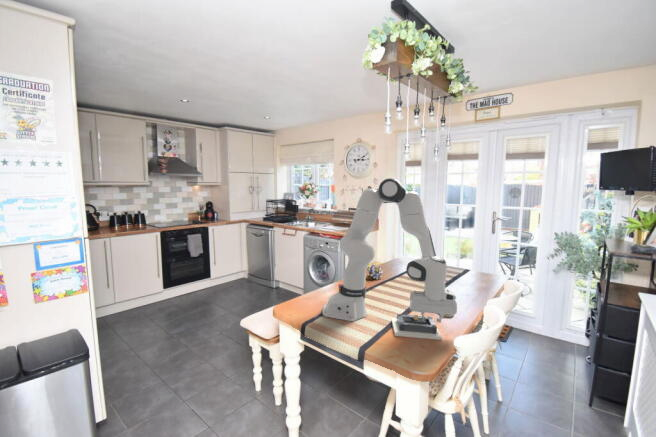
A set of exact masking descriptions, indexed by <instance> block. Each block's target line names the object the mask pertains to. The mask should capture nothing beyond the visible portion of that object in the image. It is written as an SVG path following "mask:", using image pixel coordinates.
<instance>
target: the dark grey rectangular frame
mask: <svg viewBox="0 0 656 437" xmlns="http://www.w3.org/2000/svg"><path fill="white" fill-rule="evenodd" d="M413 316H414V314H413V315H412V314H411V315H410V314H403V313H402V314H400V313H398V314H397V316H396V318H397V322H398V326H399V330H400V331H410V332H421V333H432V334H437V328H438V327H437V326H438V325H436V323H435V320H434V319H433V317H432V316H426V318H427V319H426V321H423V320H422V315H418V316H419V319H418V324H415V323H414V318H413Z"/></svg>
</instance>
